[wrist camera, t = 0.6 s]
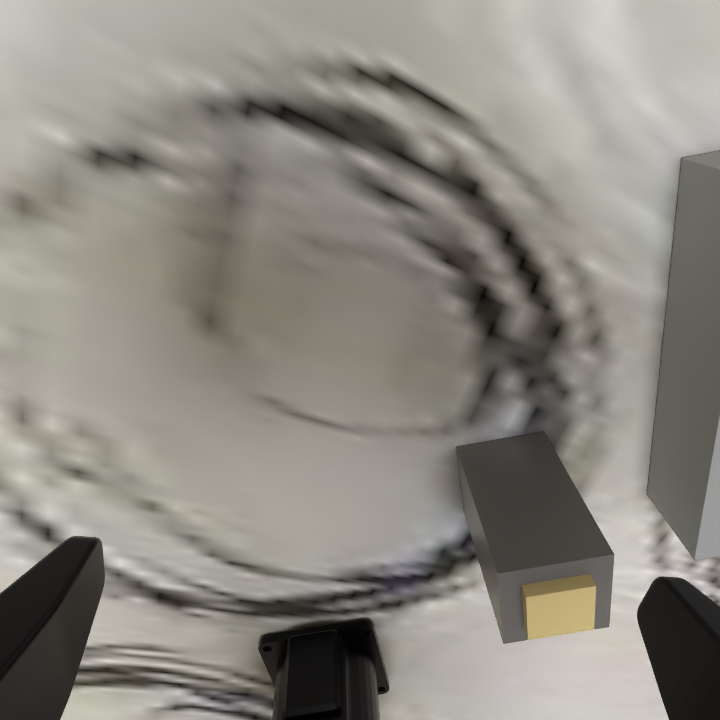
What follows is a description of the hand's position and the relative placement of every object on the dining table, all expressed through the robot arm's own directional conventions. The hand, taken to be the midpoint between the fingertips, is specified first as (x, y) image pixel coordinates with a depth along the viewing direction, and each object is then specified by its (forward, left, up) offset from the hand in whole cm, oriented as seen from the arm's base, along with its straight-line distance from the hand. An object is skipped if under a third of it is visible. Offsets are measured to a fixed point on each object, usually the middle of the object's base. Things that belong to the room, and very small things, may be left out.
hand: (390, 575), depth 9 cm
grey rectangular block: (-11, -5, -14) cm, 18 cm away
